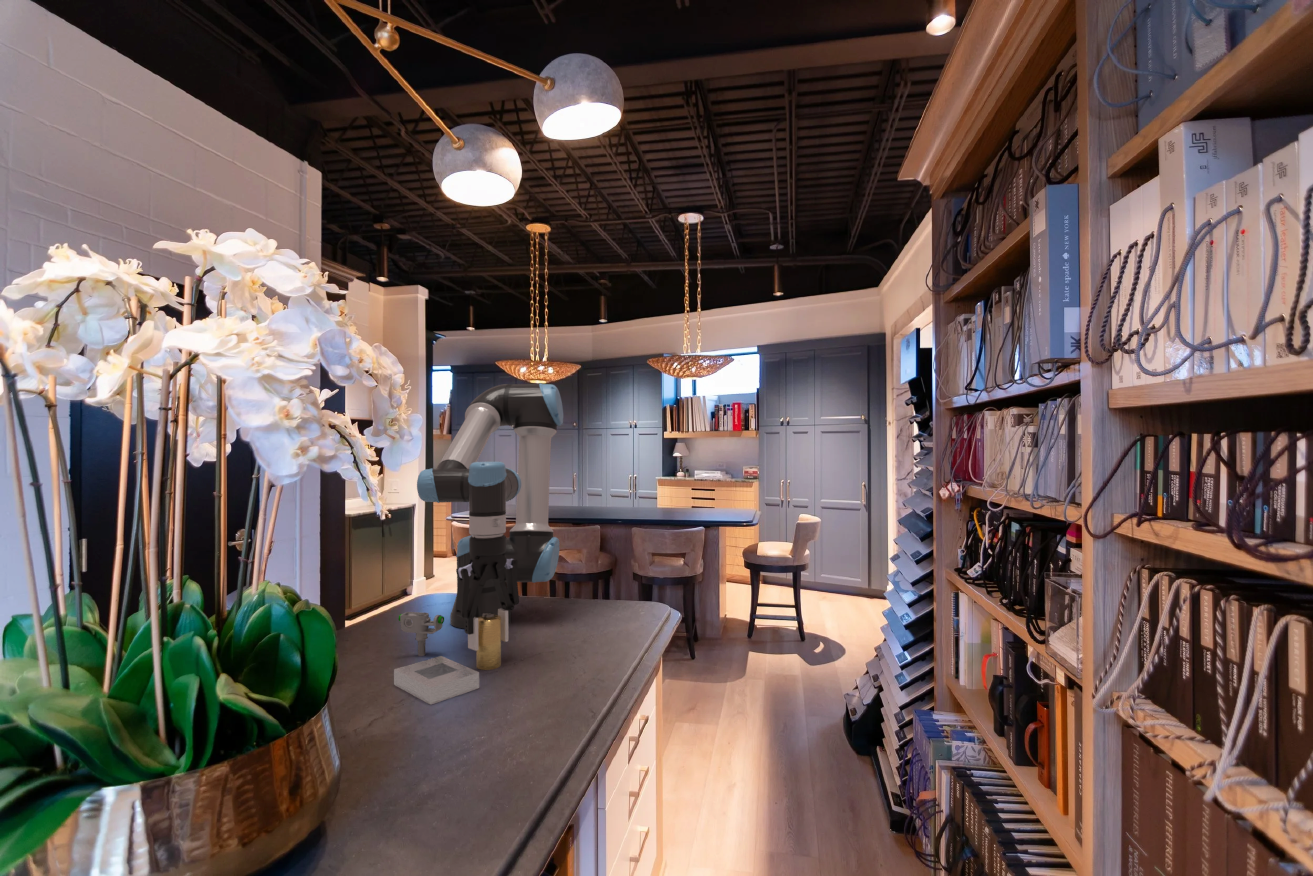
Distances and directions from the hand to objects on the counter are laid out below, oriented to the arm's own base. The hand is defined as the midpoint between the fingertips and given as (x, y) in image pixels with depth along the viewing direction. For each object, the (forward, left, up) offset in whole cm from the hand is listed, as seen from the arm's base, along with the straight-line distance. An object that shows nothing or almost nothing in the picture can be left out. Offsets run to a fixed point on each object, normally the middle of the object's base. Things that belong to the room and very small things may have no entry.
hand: (488, 644), depth 133 cm
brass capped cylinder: (0, 0, -5) cm, 5 cm away
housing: (+2, -13, -5) cm, 14 cm away
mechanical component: (-17, -6, -6) cm, 19 cm away
